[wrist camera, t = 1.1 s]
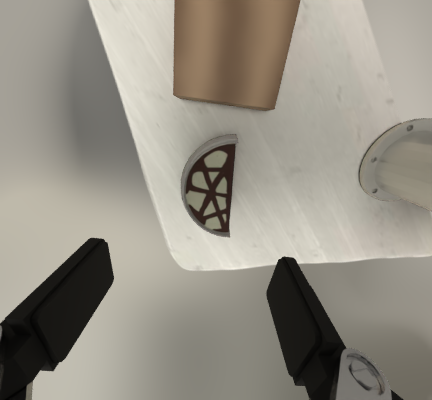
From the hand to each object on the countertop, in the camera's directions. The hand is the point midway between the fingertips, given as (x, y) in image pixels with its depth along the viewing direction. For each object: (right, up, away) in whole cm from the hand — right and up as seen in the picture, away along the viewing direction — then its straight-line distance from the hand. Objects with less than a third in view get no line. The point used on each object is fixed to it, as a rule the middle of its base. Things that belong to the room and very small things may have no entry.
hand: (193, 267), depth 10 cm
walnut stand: (+3, +23, +11) cm, 26 cm away
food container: (0, +9, +18) cm, 20 cm away
